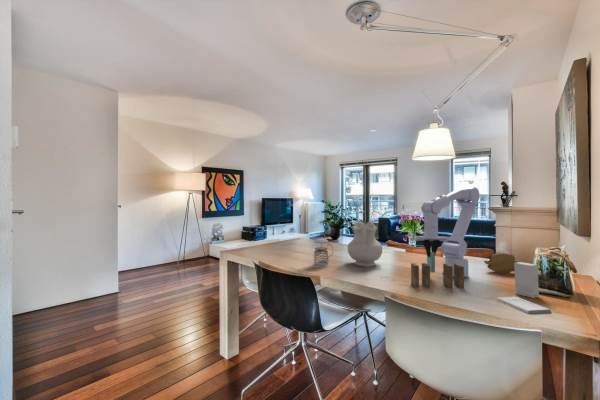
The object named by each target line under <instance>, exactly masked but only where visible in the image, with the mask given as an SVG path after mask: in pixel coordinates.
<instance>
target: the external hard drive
mask: <svg viewBox="0 0 600 400" xmlns="http://www.w3.org/2000/svg"><path fill="white" fill-rule="evenodd" d="M496 300H497V301H498V300H499V302H500V301H501V303H503V304H505V305H507V304H508V305H507V306H509V305H510V306H509V307H511V308H514V309H516V308H517V310H518V309H519V311H521V312H523V313H525V312H526V314H527V313H534V314H547V313H546V312H551V313H552V310H551V309H549V308H547V307H544V306H542V305H539V304H537V303H534V302H532V301H529V300H526V299H523V298H521V297H518V296H503V297H499V296H498V297H497V298H496Z"/></svg>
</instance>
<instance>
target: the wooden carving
mask: <svg viewBox="0 0 600 400" xmlns="http://www.w3.org/2000/svg"><path fill="white" fill-rule="evenodd" d="M517 262H518V261H516V258H515V255H514V254H509V253H505V252H496V253H493V254H492V253H491V254H489V260H484V261H483V263H484V264H485V265H487V266H486V268H488V269H489V270H491V271H493V272H495V273H498V274H508V273H512V272H514V273H515V268H514V263H517Z"/></svg>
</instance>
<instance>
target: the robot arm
mask: <svg viewBox="0 0 600 400" xmlns="http://www.w3.org/2000/svg"><path fill="white" fill-rule="evenodd" d="M480 198H481V194H480V191H479V189H478V188H477V187H475V186H472V187H457V188H454V189H453V191H451V192H449V193H448V194H446V195H445V194H438V196H437V197H434V198H432V199H431V200H428V201H427V200H426V201H425V202H423V203H422V206H421V207H420V209H421V211H422V215H423V218H424V222H423V223H424V224H423V225H424V226H423V229H424V232H423V235H414V237H413V238H414V241H417V242H418V241H421V242H422V244H423V246H424V249H425V252H426V257H427V256H428V257H430V251H432V252H435V255H436V253H437V251H438V249H439V247H440V251H441V253H442V254H443V256H444V264H449V265H451V266H453V278H454V264H459V265H462V266H464V278H470V276H469V260H468V258H467V257H465V256H466V253H467V247H468V243H467V242H466V241H465V240H464V239H465V236H466V235H467V231H468V229H469V226H470V223H471V220H472V217H473V216H474V213H475V210H476V207H477V205H478V203H479V200H480ZM454 201H456V203H457V204H458V206H460V207H461V211H460V212H459V215H458V218H457V220H456V222H455V225H454V228H453V231H452V234H451V235H450V236H439V214H440V213H441V210H442V209H444V208H446V207H448V206H450V204H451V202H454ZM441 242H443V243H442V244H441ZM440 245H441V246H440ZM441 273H442V274H443V271H441Z"/></svg>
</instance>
